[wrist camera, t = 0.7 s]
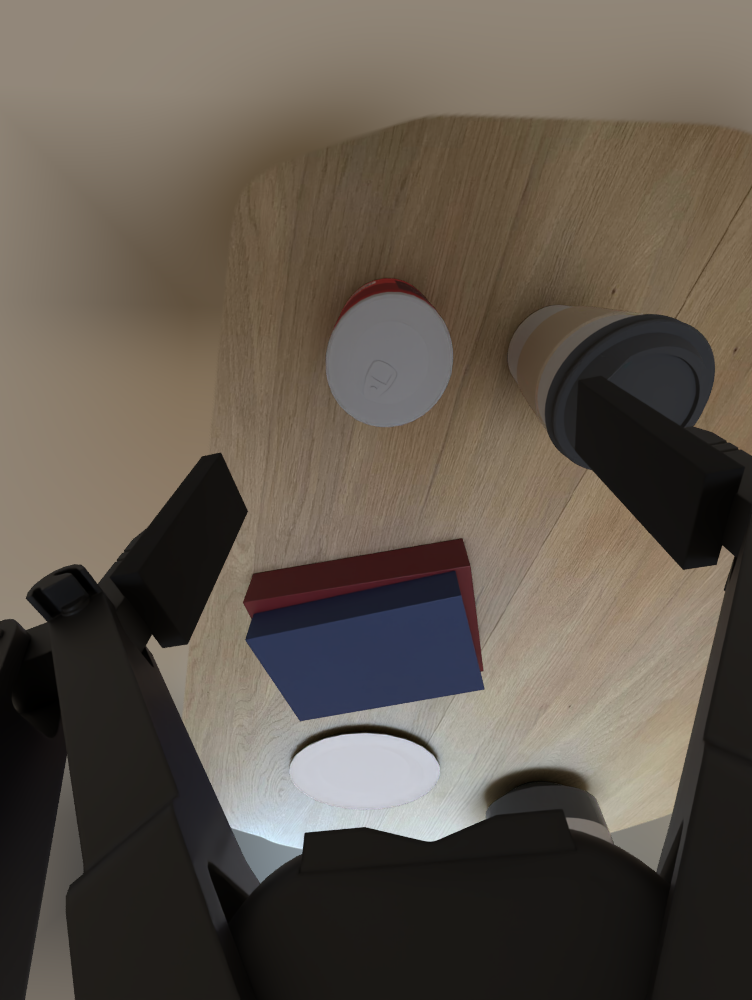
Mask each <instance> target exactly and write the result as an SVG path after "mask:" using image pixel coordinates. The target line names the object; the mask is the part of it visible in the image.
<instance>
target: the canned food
mask: <svg viewBox="0 0 752 1000" xmlns="http://www.w3.org/2000/svg"><path fill="white" fill-rule="evenodd" d="M452 365H453V347H452V342H451V338H450V334H449V331H448V329H447V327H446V324H445V322H444V320H443V319H442V317H441V316H440V315H439V313H438V312H437V311H436V309H435V308H434V307H433V306H432V305H431V303H430V302H429V301H428V300H427V299H426V298H425V297H424V296H423V295H422V293H421V292H420V291H418V290H417V289H416V288H415V287H414V286H412V285H410V284H409V283H407V282H405V281H402V280H398V279H390V278H384V279H379V280H374V281H372V282H370V283H367V284H365V285H364V286H362V287H361V288H359V289H358V290H357V291H356V292H355V293H354V294H353V295H352V296H351V297H350V298H349V300H348V301H347V303H346V304H345V306H344V308H343V310H342V312H341V314H340V316H339V318H338V320H337V322H336V324H335V326H334V329H333V331H332V334H331V336H330V339H329V342H328V347H327V352H326V374H327V379H328V384H329V387H330V389H331V391H332V394H333V396H334V397H335V399H336V400H337V402H338V404H339V405H340V406H341V407H342V408H343V409H344V410H345V411H346V412H347V413H348V414H349V415H351V416H352V417H354V418H355V419H356V420H358V421H361V422H363V423H365V424H368V425H372V426H377V427H394V426H400V425H404V424H406V423H409V422H412V421H414V420H416V419H417V418H419V417H421V416H422V415H424V414H425V413H426V412H427V411H429V410H430V409H431V408H432V407H433V406H434V405H435V404H436V402H437V401H438V400H439V399H440V397H441V396H442V394H443V392H444V390H445V389H446V387H447V384H448V382H449V379H450V376H451V372H452Z"/></svg>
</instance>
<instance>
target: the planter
mask: <svg viewBox="0 0 752 1000" xmlns="http://www.w3.org/2000/svg"><path fill="white" fill-rule="evenodd" d="M553 809H563V811H564V814H565V817H566V820H567V823H568V826H569V829H573V830H577V831H582V832H585V833H587V834H590V835H593V836H596V837H599V838H601V839H603V840H605V841H607V842H610V843H612V844H614V842H613V840H612V837H611V835H610V832H609V830H608V827H607V824H606V822H605V819H604V817H603V814H602V812H601V809H600V807H599V804H598V802H597V800H596V798H595V797H594V796H593V795H591V794H590V793H588V792H586V791H584V790H581V789H578V788H574V787H568V786H564V785H561V784H557V783H552V782H531V783H527V784H523V785H521V786H519V787H517V788H515V789H513V790H511V791H510V792H508V793H507V794H506V795H505V796H503V797H501V798H499V799H498V800H496V801H495V802H494V803H492V804H491V805H490V806H489V808H488V809H487V811H486V819H488V818H490V817H492V816H495V815H500V814H511V813H521V812H532V811H543V810H553Z"/></svg>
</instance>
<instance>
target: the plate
mask: <svg viewBox="0 0 752 1000" xmlns="http://www.w3.org/2000/svg"><path fill="white" fill-rule="evenodd" d="M289 775H290V777H291V779H292V781H293V784H294V785H295V786H296V787H297V788H298V789H299V790H300V791H301V792H302V793H303V794H305V795H307V796H309V797H310V798H312V799H314V800H316V801H319V802H322V803H324V804H327V805H330V806H335V807H340V808H346V809H358V810H373V809H385V808H390V807H396V806H400V805H403V804H406V803H409V802H412V801H415V800H416V799H418V798H420V797H422V796H424V795H425V794H427V793H428V792H429V791H430V790H431V789H432V788H433V787H434V786H435V785H436V783H437V781H438V779H439V777H440V766H439V763H438V761H437V760H436V758H435V756H434V755H433V754H432V753H431V752H430V751H428V750H427V749H426V748H425V747H423V746H422V745H420V744H418V743H416V742H413V741H411V740H409V739H407V738H404V737H399V736H395V735H391V734H387V733H376V732H352V733H342V734H338V735H333V736H329V737H325V738H322V739H320V740H318V741H315V742H313V743H311V744H309V745H307V746H306V747H304V748H303V749H302V750H301V751H299V752H298V753H297V754H296V755H295V757H294V758H293V760H292V762H291V763H290V774H289Z"/></svg>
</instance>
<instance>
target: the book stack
mask: <svg viewBox="0 0 752 1000" xmlns="http://www.w3.org/2000/svg"><path fill="white" fill-rule="evenodd" d="M243 604H244V606H245V607H246V609H247V611H248V613H249V615H250V617H251V619H252V620H251V623H250V627H249V630H248V633H247V636H246V639H245V640H246V642H247V643H248V645H249V646H250V648H251V649H252V651H253V652H254V654H255V655H256V657H257V658H258V660H259V661H260V663H261V664H262V666H263V667H264V669H265V670H266V672H267V673H268V674H269V676H270V677H271V679H272V680H273V682H274V683H275V685H276V686H277V688H278V689H279V691H280V692H281V694H282V695H283V697H284V698H285V700H286V701H287V703H288V704H289V706H290V707H291V709H292V710H293V711H294V713H295V714H296V716H297V717H298V719H299V720H300V721H304V720H310V719H316V718H321V717H327V716H333V715H339V714H345V713H350V712H356V711H362V710H368V709H374V708H380V707H385V706H391V705H397V704H403V703H409V702H414V701H420V700H426V699H432V698H438V697H443V696H449V695H455V694H461V693H467V692H472V691H478V690H484V684H483V680H482V676H481V671H483V663H482V655H481V647H480V639H479V631H478V623H477V615H476V607H475V598H474V590H473V582H472V574H471V566H470V563H469V559H468V556H467V552H466V549H465V546H464V542H463V539H457V540H451V541H445V542H439V543H433V544H427V545H421V546H415V547H410V548H404V549H398V550H392V551H386V552H380V553H374V554H368V555H362V556H356V557H351V558H345V559H339V560H333V561H327V562H321V563H315V564H309V565H303V566H297V567H292V568H286V569H280V570H274V571H268V572H262V573H256V574H253V576H252V579H251V582H250V585H249V587H248V590H247V593H246V596H245V599H244V601H243Z"/></svg>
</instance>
